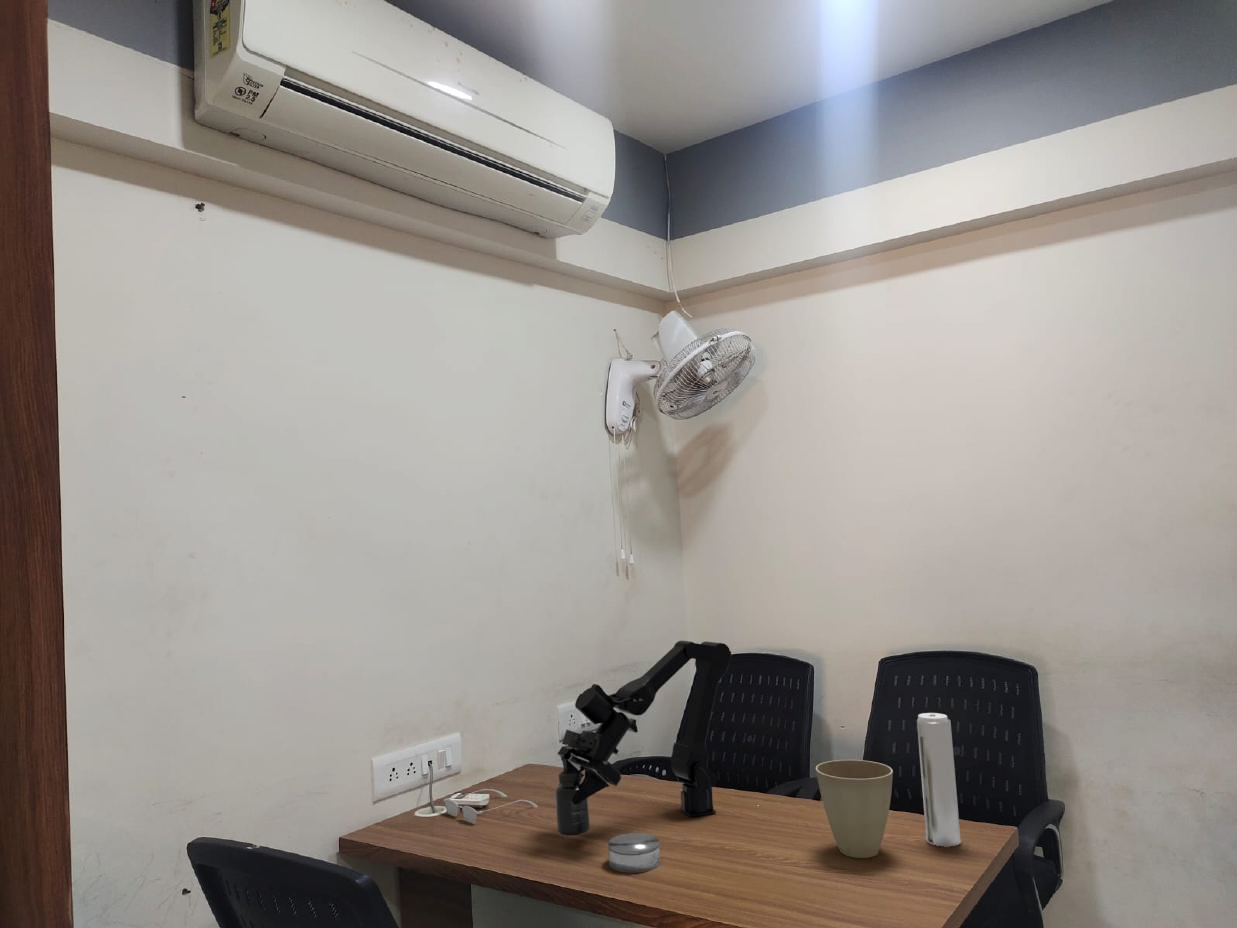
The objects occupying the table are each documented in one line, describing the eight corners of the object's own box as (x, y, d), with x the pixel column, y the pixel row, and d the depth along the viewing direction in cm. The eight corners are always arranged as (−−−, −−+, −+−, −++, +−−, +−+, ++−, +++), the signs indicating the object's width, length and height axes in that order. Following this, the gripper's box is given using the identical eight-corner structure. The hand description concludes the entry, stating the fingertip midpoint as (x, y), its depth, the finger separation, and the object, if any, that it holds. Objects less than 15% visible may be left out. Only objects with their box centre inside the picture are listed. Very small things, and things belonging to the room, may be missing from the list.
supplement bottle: (591, 825, 178) (588, 767, 180) (587, 835, 172) (583, 775, 173) (560, 826, 179) (557, 768, 180) (554, 836, 172) (551, 777, 174)
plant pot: (894, 869, 154) (887, 781, 156) (814, 860, 160) (808, 775, 162) (903, 842, 168) (896, 761, 169) (829, 834, 174) (823, 756, 175)
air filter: (963, 847, 163) (952, 717, 166) (929, 846, 165) (918, 718, 167) (957, 836, 170) (946, 711, 172) (924, 835, 171) (914, 711, 173)
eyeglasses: (442, 814, 201) (442, 797, 202) (504, 797, 213) (504, 781, 214) (477, 828, 190) (476, 809, 190) (540, 808, 202) (540, 791, 202)
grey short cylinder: (650, 850, 170) (649, 830, 170) (667, 867, 160) (665, 846, 160) (603, 857, 167) (602, 837, 167) (617, 875, 157) (616, 853, 158)
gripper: (563, 708, 188) (521, 768, 181) (605, 721, 172) (561, 786, 165) (595, 738, 191) (555, 797, 184) (639, 753, 175) (597, 818, 168)
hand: (565, 799), depth 175 cm, fingers closed on supplement bottle, 7 cm apart
